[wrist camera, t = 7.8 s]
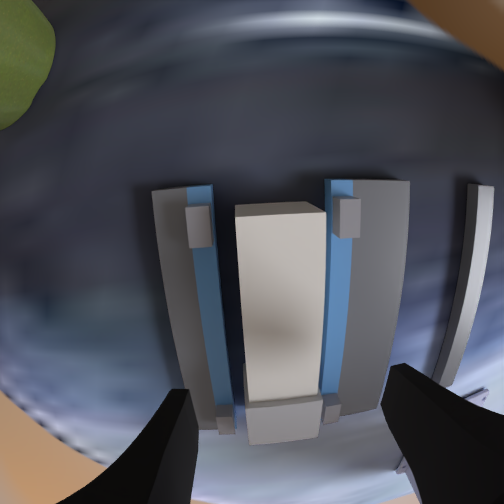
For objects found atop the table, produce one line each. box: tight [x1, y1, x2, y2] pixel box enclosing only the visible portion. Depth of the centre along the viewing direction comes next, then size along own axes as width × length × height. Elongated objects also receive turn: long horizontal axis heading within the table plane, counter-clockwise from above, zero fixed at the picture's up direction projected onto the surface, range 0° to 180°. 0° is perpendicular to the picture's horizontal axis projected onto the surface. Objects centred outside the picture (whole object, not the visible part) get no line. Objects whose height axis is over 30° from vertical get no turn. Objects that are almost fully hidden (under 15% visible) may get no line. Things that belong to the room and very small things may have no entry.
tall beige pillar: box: [235, 201, 326, 445], centre depth 13 cm, size 12×4×4 cm, turn 3°
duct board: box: [152, 179, 494, 435], centre depth 14 cm, size 14×18×2 cm
